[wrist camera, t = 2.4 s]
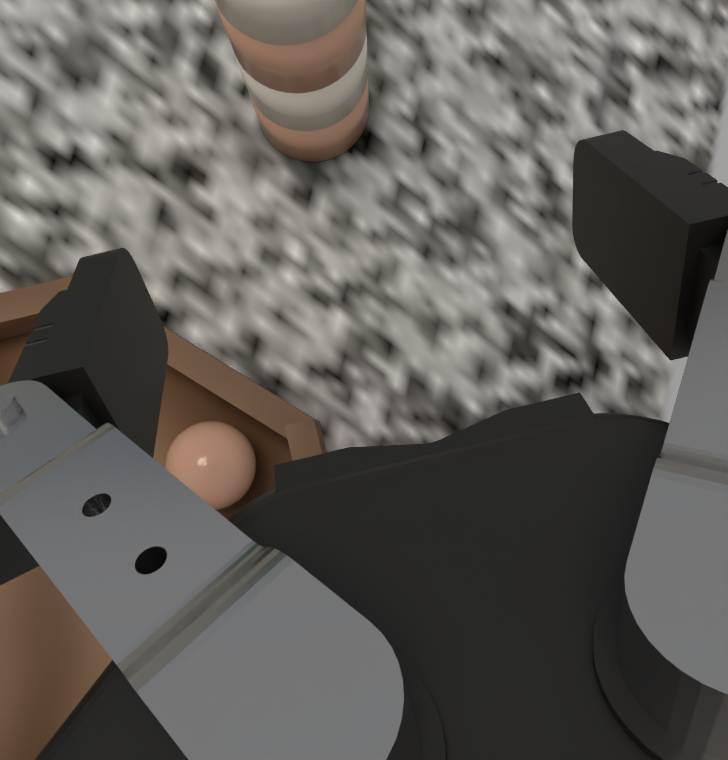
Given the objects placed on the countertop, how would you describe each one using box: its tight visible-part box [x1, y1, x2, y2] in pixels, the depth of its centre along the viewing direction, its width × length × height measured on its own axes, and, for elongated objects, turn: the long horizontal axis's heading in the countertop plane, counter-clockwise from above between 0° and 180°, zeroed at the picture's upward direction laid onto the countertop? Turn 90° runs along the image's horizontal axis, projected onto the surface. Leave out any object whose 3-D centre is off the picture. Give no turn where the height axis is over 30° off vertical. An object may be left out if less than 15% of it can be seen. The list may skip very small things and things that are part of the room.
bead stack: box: [215, 0, 369, 162], centre depth 21 cm, size 4×4×10 cm
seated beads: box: [165, 421, 256, 510], centre depth 22 cm, size 20×11×3 cm, turn 103°
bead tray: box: [0, 276, 327, 760], centre depth 23 cm, size 23×23×3 cm
